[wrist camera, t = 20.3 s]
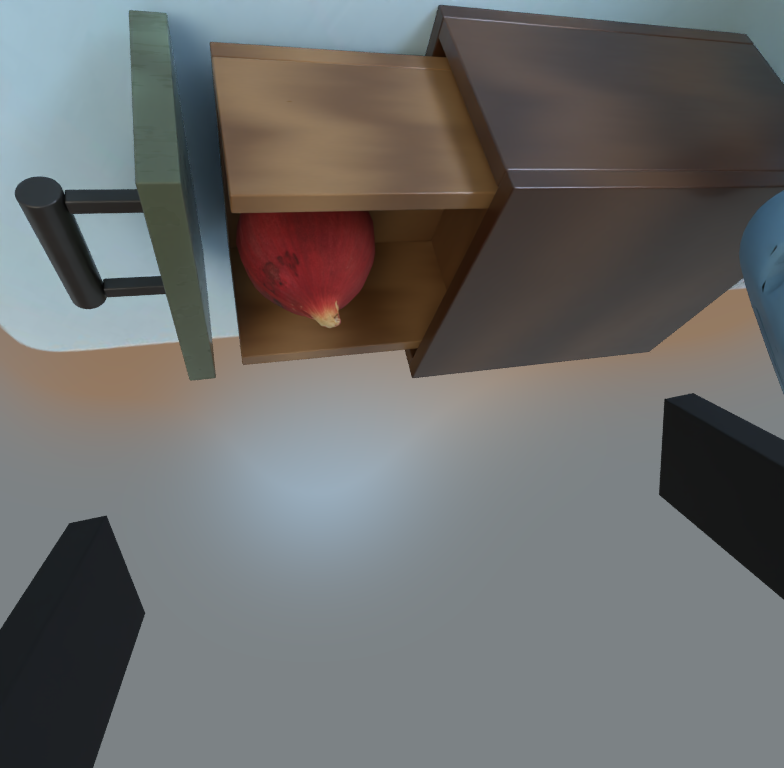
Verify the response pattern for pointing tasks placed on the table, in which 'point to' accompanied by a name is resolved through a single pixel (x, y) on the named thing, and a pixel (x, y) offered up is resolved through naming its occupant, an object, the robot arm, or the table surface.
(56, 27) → the table surface
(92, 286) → the drawer
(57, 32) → the table surface
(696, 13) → the table surface
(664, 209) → the cabinet
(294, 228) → the onion
